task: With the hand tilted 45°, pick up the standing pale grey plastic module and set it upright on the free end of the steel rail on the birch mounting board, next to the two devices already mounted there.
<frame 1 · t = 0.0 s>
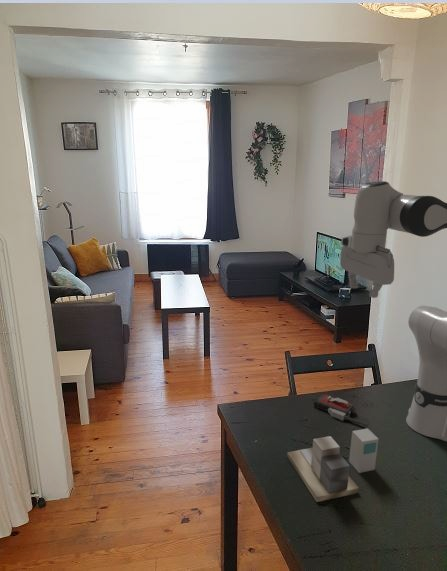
hand: (363, 292, 117), 48 cm above the table, tool pointing down, fingers open, 8 cm apart
rail board: (320, 473, 116), on the table
module: (361, 465, 119), on the table
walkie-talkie: (342, 414, 145), on the table
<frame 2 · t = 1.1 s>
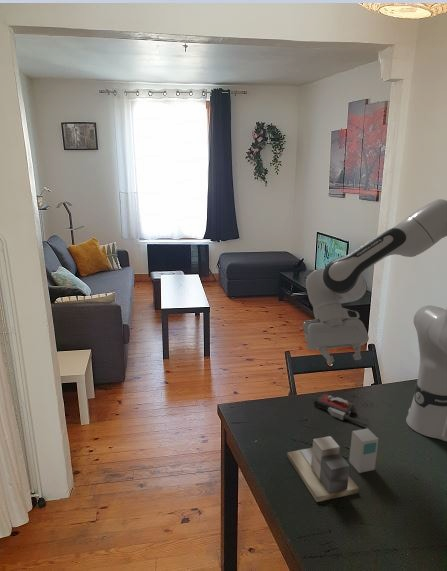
hand: (344, 360, 124), 26 cm above the table, tool tilted 45°, fingers open, 8 cm apart
nothing on the table moved.
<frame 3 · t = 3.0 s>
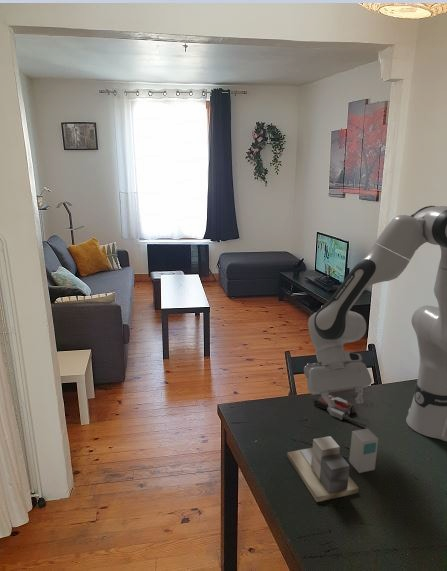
hand: (346, 405, 125), 13 cm above the table, tool tilted 45°, fingers open, 8 cm apart
nothing on the table moved.
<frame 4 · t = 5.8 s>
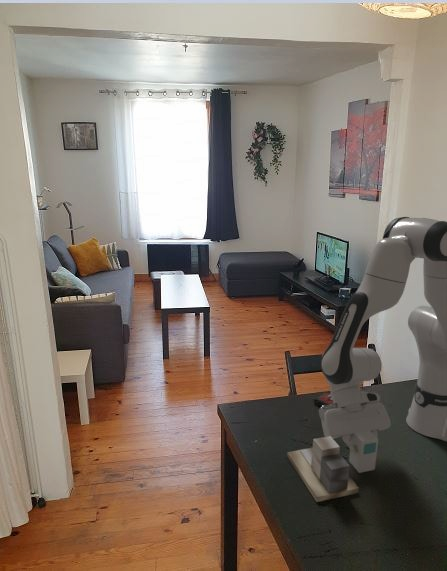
hand: (364, 450, 117), 5 cm above the table, tool tilted 45°, fingers closed on module, 5 cm apart
module: (361, 465, 119), on the table, touching gripper
everything else where it was.
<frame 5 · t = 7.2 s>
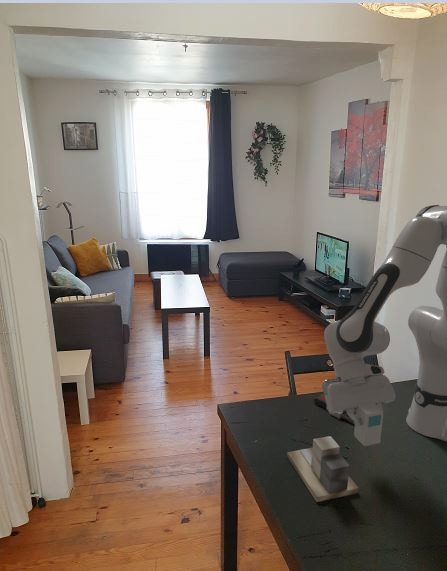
hand: (369, 423, 115), 14 cm above the table, tool tilted 45°, fingers closed on module, 5 cm apart
module: (366, 439, 117), point 8 cm above the table, touching gripper
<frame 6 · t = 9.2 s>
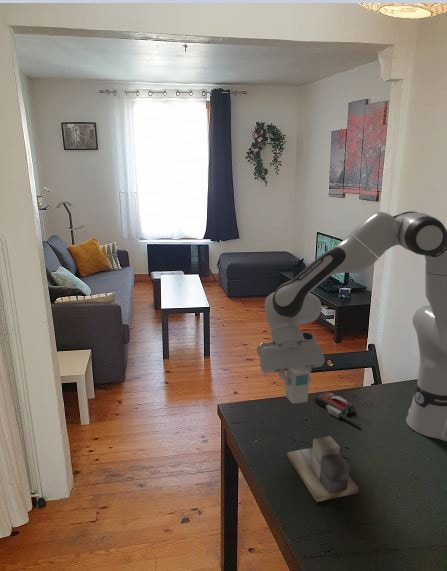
hand: (298, 383, 126), 19 cm above the table, tool tilted 45°, fingers closed on module, 5 cm apart
module: (296, 398, 128), point 14 cm above the table, touching gripper
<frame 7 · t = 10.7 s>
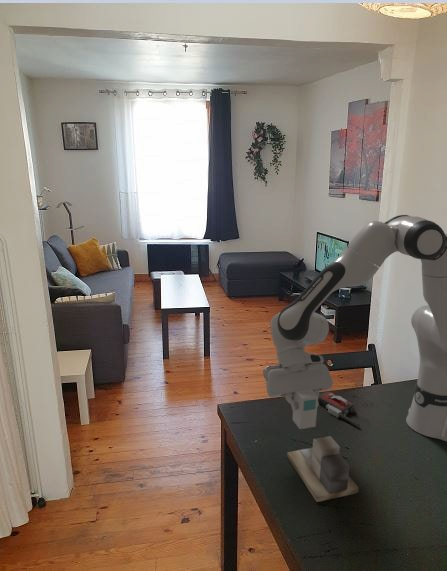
hand: (306, 408, 122), 14 cm above the table, tool tilted 45°, fingers closed on module, 5 cm apart
module: (303, 423, 124), point 9 cm above the table, touching gripper
when the fingers open (9 cm above the table, at t = 12.6 s): module drops 2 cm, resting on rail board.
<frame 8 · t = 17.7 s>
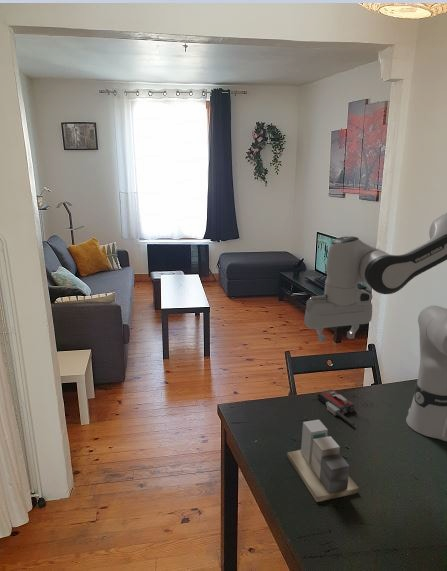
hand: (336, 339, 123), 33 cm above the table, tool pointing down, fingers open, 8 cm apart
module: (312, 456, 120), point 2 cm above the table, touching rail board
at the end: module 0.1 cm from the target spot on the rail board, point 1.9 cm above the rail board's base; module tilted 0°; the gripper is holding nothing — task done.
